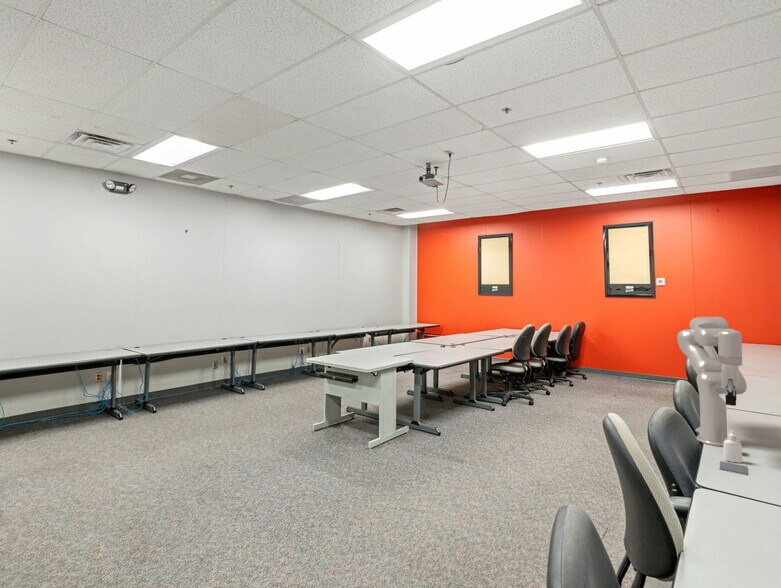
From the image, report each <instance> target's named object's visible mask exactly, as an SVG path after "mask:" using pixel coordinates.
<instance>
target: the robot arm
mask: <svg viewBox="0 0 781 588" xmlns="http://www.w3.org/2000/svg"><path fill="white" fill-rule="evenodd" d="M676 338H677V339H676V340H677V344H678V347H679V349H680V350H681V353H683V355H685V356H686V357H687V359H688V360H689V362H690V365H691V366H692V368H693V370H694V371H693V372H695V374H696V375H697V376H696V384H697V388H698V389H697V390H698V398H699V417H700V419H699V420H700V421H699V422H700V423H699V424H700V425H699V426H698V427H697V428H695V432H697V433H698V435H696V440H697V441H698V442H701V443H703V444H706V445H710V446H716V447H724V441H725V438H726V439H728V421H727V420H728V418H727V406H733V407H735V406H737V395H742V394H744V393H745V392H746V391H747V388H748V385H747V382H746V379H745V377H744V375H743V374H742V372H741V371H740V369H739V367H740V366H743V341H742V340H743V338H742V333H741V331H739V330H736V329H734V328H729V323H728V322H727V320H726V319H725V318H724V317H722V316H698V317H694V318H692V319H691V320H690V322H689V329H688V328H687V329H683V330H680V331H679V332H678V333H677V336H676ZM702 347H717V349H718V351H717V352H718V357H711V355H710V354H709V352H708V351H707V350H705V349H704V348H702ZM721 394H722V395H723V394H724V395H725V400H724V399H723V398H722V397H721V396H720V395H721Z"/></svg>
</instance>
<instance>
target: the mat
mask: <svg viewBox="0 0 781 588" xmlns="http://www.w3.org/2000/svg"><path fill="white" fill-rule="evenodd" d="M720 469H723V470H722V471H724V470H727V471H726V472H729V471H731V472H730V473H734V472H735V473H736V474H740V475H745V476H748V466H747V465H742V464H739V463H732V462H727V461H722V460H721V461H719V470H720Z"/></svg>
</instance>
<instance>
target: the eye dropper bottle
mask: <svg viewBox="0 0 781 588" xmlns="http://www.w3.org/2000/svg"><path fill="white" fill-rule="evenodd" d="M727 438H728V439H729V440H725V441H724V446H723V461H725V460H726V461H725V462H727V461H730V462H729V463H732V462H737V463H736V464H742V463H743V445H742V443H741V441H740V442H738V441H736V440H737V435H736V433H734V431H733V430H730V433H727Z"/></svg>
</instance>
